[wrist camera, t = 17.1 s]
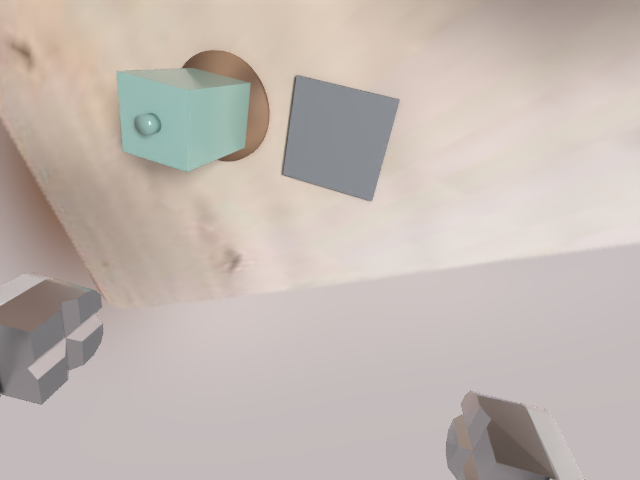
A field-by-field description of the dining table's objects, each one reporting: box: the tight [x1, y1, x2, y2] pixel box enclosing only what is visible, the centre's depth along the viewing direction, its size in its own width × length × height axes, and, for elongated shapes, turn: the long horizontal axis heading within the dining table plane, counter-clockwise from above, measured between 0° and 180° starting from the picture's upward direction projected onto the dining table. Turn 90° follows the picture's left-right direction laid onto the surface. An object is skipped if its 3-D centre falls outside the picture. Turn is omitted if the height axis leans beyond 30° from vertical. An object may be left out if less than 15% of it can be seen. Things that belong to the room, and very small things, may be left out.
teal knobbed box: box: [117, 68, 251, 172], centre depth 34 cm, size 7×7×11 cm
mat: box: [283, 75, 399, 201], centre depth 37 cm, size 10×10×1 cm
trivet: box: [183, 50, 269, 161], centre depth 39 cm, size 11×11×1 cm
